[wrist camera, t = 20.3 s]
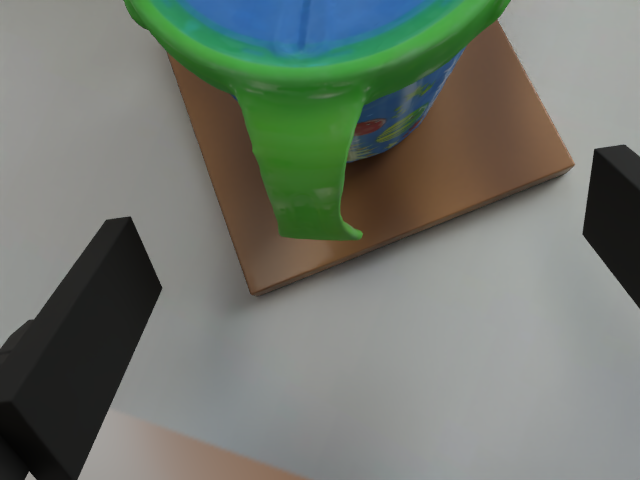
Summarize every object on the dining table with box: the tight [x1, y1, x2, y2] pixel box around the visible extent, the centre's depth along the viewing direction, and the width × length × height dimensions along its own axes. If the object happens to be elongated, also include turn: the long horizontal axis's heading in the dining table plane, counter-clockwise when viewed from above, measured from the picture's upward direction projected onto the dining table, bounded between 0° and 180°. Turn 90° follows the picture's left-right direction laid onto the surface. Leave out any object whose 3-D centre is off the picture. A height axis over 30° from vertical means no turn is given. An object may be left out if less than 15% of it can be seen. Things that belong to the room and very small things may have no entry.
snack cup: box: [123, 0, 511, 241], centre depth 17 cm, size 16×10×10 cm
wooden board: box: [167, 20, 575, 296], centre depth 22 cm, size 14×14×1 cm
